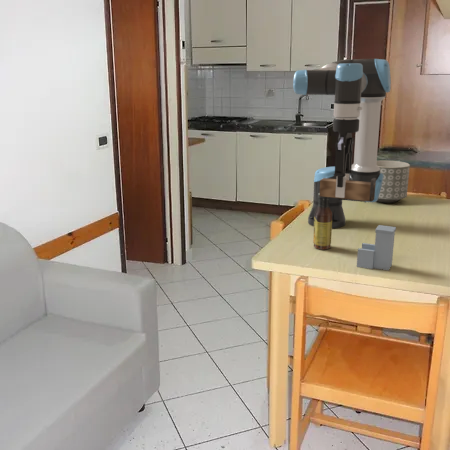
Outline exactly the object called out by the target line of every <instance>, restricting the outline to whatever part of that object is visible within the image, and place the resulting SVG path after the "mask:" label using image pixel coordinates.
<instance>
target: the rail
mask: <svg viewBox="0 0 450 450" xmlns="http://www.w3.org/2000/svg"><path fill="white" fill-rule="evenodd" d="M375 184H376V178H373V179H371V182H362V181H351V180H346V185H345V198H343V199H352V200H362V201H373V200H374V197H375ZM335 193H336V179H329V178H323V179H321V180H320V195H319V196H324V197H333V198H339V197H335Z"/></svg>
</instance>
